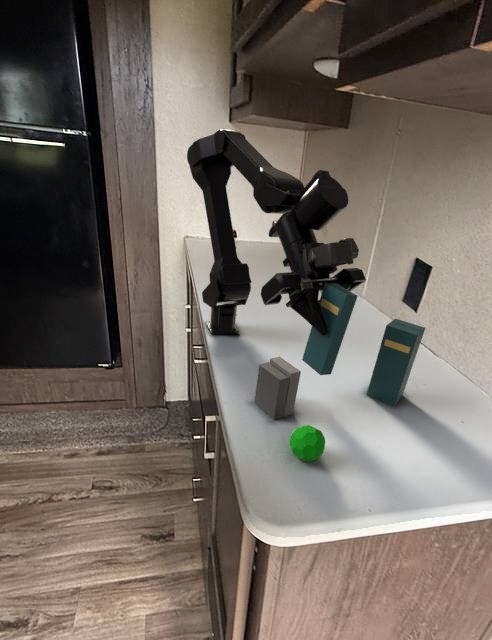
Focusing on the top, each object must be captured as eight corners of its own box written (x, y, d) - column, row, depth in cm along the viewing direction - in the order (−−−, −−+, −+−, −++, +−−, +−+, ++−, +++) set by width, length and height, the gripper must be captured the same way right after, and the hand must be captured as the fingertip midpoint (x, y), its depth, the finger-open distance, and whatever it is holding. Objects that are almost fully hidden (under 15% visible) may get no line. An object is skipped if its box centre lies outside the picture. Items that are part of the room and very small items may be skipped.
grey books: (254, 402, 67) (259, 360, 63) (273, 397, 69) (279, 356, 65) (273, 420, 63) (280, 376, 59) (293, 413, 65) (301, 371, 62)
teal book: (301, 359, 70) (324, 282, 63) (312, 359, 71) (335, 283, 65) (320, 375, 66) (346, 294, 60) (331, 374, 67) (358, 295, 61)
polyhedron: (301, 472, 53) (308, 444, 51) (280, 451, 57) (285, 424, 54) (328, 461, 56) (335, 434, 54) (306, 441, 59) (312, 415, 57)
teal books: (366, 394, 74) (386, 325, 67) (375, 384, 78) (395, 318, 71) (394, 406, 72) (418, 335, 65) (402, 395, 76) (425, 327, 69)
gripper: (282, 215, 54) (321, 320, 52) (371, 219, 65) (406, 306, 63) (245, 258, 63) (277, 349, 61) (329, 255, 74) (358, 332, 72)
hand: (333, 333), depth 64 cm, fingers closed on teal book, 3 cm apart
